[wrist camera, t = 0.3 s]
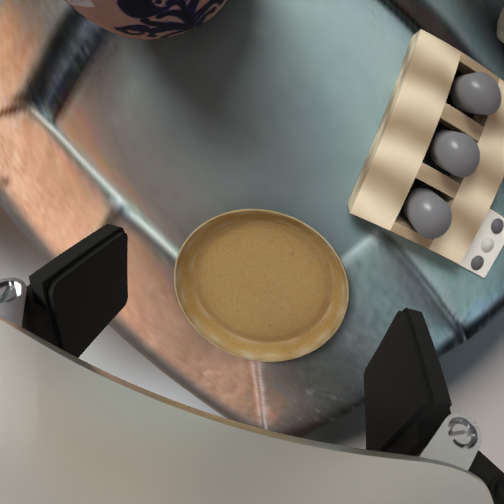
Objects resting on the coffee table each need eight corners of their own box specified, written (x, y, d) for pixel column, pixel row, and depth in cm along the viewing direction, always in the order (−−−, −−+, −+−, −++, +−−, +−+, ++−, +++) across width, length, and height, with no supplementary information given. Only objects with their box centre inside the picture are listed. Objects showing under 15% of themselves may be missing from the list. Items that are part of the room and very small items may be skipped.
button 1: (413, 180, 33) (425, 190, 28) (444, 196, 32) (458, 208, 28) (396, 214, 35) (406, 228, 30) (427, 229, 34) (439, 245, 30)
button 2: (455, 68, 26) (472, 63, 21) (486, 88, 25) (505, 87, 21) (444, 101, 28) (461, 100, 24) (475, 120, 28) (494, 123, 23)
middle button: (436, 122, 29) (452, 124, 25) (467, 141, 29) (485, 146, 25) (422, 157, 31) (436, 164, 27) (453, 175, 31) (469, 184, 27)
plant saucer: (355, 205, 38) (357, 213, 35) (338, 353, 48) (337, 368, 45) (173, 201, 43) (162, 208, 40) (194, 339, 53) (187, 351, 50)
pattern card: (487, 206, 33) (489, 208, 33) (512, 223, 33) (514, 225, 32) (457, 263, 37) (458, 265, 37) (483, 276, 37) (484, 278, 36)
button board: (411, 36, 27) (421, 29, 24) (513, 101, 26) (529, 102, 23) (347, 202, 38) (349, 212, 34) (449, 251, 37) (459, 264, 33)
